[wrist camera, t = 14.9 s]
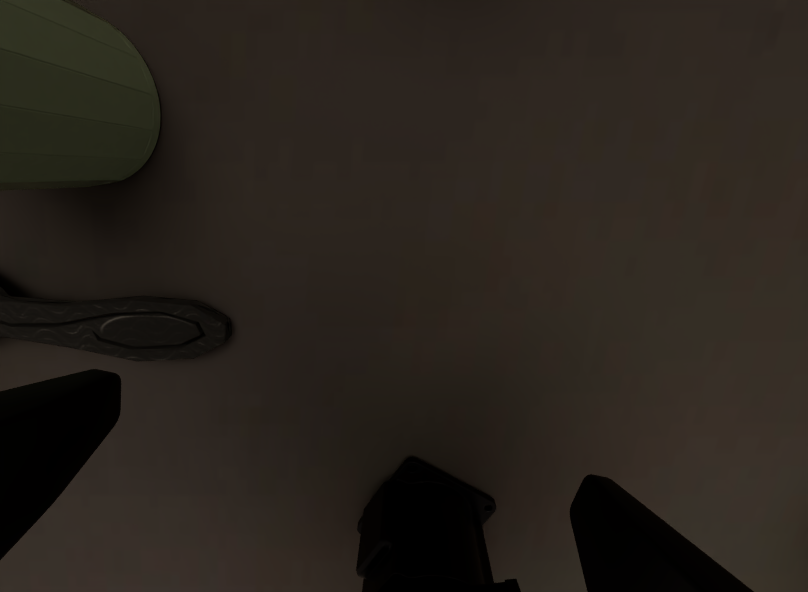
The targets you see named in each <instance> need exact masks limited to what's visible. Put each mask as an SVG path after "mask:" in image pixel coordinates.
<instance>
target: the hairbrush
mask: <svg viewBox="0 0 808 592" xmlns="http://www.w3.org/2000/svg"><path fill="white" fill-rule="evenodd" d="M110 313H117V314H111V315H105V316H100V317H94V316H99V315H104V314H110ZM88 317H94V318H88ZM83 318H88V319H83ZM78 319H83V320H78ZM72 320H77V321H72ZM67 321H71V322H67ZM202 332H204V333H205V334H203V335H201V333H202ZM199 335H201V336H199ZM0 336H3V337H9V338H15V339H21V340H27V341H33V342H39V343H45V344H52V345H58V346H64V347H70V348H75V349H80V350H85V351H90V352H95V353H100V354H104V355H109V356H114V357H119V358H124V359H129V360H134V361H154V360H175V359H194V358H196V357H198V356H200V355H201V354H203V353H205V352H207V351H209V350H211V349H213V348H215V347H217V346H219V345H221V344H223V343H225V341H226V340H228V338H229V337H230V336H231V327H230V318H228V317H226V316H224V315H223V314H221V313H219V312H217V311H216V310H214V309H212V308H210V307H208V306H206V305H204V304H203V303H201V302H199V301H195V300H184V299H173V298H162V297H151V296H136V297H125V298H114V299H104V300H93V301H82V302H76V301H63V300H51V299H38V298H26V297H13V296H9V295H8V294H7V293H6V292H5V291H4V290H3V289H2V288H1V287H0ZM197 336H199V337H197ZM195 337H197V338H195ZM193 338H195V339H193ZM190 339H193V340H191V341H189V342H186V341H188V340H190Z"/></svg>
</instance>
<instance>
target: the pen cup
mask: <svg viewBox="0 0 808 592" xmlns="http://www.w3.org/2000/svg"><path fill="white" fill-rule="evenodd" d="M160 118H161V113H160V103H159V98H158V93H157V89H156V86H155V83H154V80H153V78H152V75H151V73H150V71H149V69H148V67H147V65H146V63H145V62H144V60H143V58H142V57H141V55H140V54H139V52H138V51H137V50H136V48H135V47H134V45H133V44H132V43H131V42H130V41H129V40H128V39H127V38H126V37H125V35H123V34H122V33H121V32H120V31H119V30H118V29H117V28H116V27H114V26H113V25H112V24H110V23H109V22H107V21H106V20H105V19H103V18H101V17H99V16H98V15H96V14H94V13H92V12H90V11H88V10H87V9H85V8H84V7H82V6H81V5H79V4H77V3H75V2H73V1H72V0H0V191H4V190H26V189H49V188H71V187H92V186H96V185H105V184H111V183H115V182H118V181H121V180H124V179H126V178H128V177H130V176H131V175H133V174H134V173H135V172H137V171H138V170H139V169H140V168H141V167H142V166H143V165H144V164H145V163H146V162H147V160H148V159H149V157H150V156H151V154H152V152H153V150H154V148H155V146H156V143H157V139H158V136H159V130H160Z"/></svg>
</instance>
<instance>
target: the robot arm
mask: <svg viewBox="0 0 808 592" xmlns="http://www.w3.org/2000/svg"><path fill="white" fill-rule="evenodd" d="M120 410H121V379H120V376H119V375H118V374H116V373H112V372H108V371H103V370H98V369H91V370H87V371H83V372H79V373H75V374H70V375H66V376H62V377H58V378H54V379H50V380H46V381H42V382H37V383H33V384H29V385H25V386H21V387H17V388H13V389H8V390H4V391H0V560H1V559H2V558H3V557H4V556H5V555H6V553H7V552H8V551H9V550H10V549H11V548H12V547H13V546H14V545H15V544H16V543H17V542H18V541H19V540H20V539H21V537H22V536H23V535H24V534H25V533H26V532H27V531H28V530H29V529H30V528H31V527H32V526H33V525H34V524H35V523H36V522H37V520H38V519H39V518H40V517H41V516H42V515H43V514H44V513H45V512H46V511H47V509H48V508H49V507H50V506H51V505H52V504H53V503H54V502H55V500H56V499H57V498H58V497H59V496H60V494H61V493H62V492H63V491H64V489H65V488H66V487H67V486H68V484H69V483H70V482H71V481H72V479H73V478H74V477H75V476H76V474H77V473H78V472H79V470H80V469H81V468H82V467H83V465H84V464H85V463H86V462H87V460H88V459H89V458H90V456H91V455H92V454H93V453H94V451H95V450H96V449H97V448H98V446H99V445H100V444H101V442H102V441H103V440H104V439H105V437H106V436H107V435H108V434H109V432H110V431H111V430H112V428H113V427H114V426H115V424H116V423H117V421H118V418H119V416H120ZM411 465H413V466H415V467H409V466H411ZM486 505H489V506H486ZM495 510H496V503H495V500H494V499H493V498H492V497H490V496H488V495H486V494H484V493H483V492H481V491H479V490H477V489H475V488H473V487H471V486H469V485H467V484H465V483H463V482H461V481H459V480H458V479H456V478H454V477H452V476H450V475H448V474H446V473H444V472H442V471H440V470H438V469H436V468H435V467H433V466H431V465H429V464H427V463H425V462H423V461H421V460H419V459H417V458H415V457H410V458H407V459H406V460H405V461H404V462H403V464H402V465H401V466H400V468H399V469H398V470H397V471H396V473H395V474H394V475H393V477H392V478H391V479H390V481H387V482H385V483H383V485H382V486H381V487H380V489H379V490H378V491H377V493H376V494H375V495H374V496H373V498H372V499H371V500H370V502H369V503H368V504H367V506H366V507H365V508H364V513H363V516H362V517H361V519H360V520H359V522H358V527H357V530H358V532H359V533H360V534H361V536H360V544H359V552H358V560H357V567H356V571H357V574H358V576H359V577H361V578H364V579H363V589H362V592H521V591H520V588H519V585H518V582H517V580H516V579H507V580H505V582H500V583H494V581H493V576H492V571H491V567H490V562H489V557H488V553H487V548H486V543H485V538H484V534H483V529H482V525H483V524H484V523H485V522H486V521H487V520H488V519H489V517H490V516H491V515H492V514H493V513H494V512H495ZM570 519H571V524H572V528H573V532H574V536H575V541H576V545H577V549H578V553H579V557H580V562H581V566H582V570H583V574H584V578H585V583H586V587H587V591H588V592H753V591H752V590H751V589H750V588H748V587H747V586H746V585H745V584H743V583H742V582H741V581H740V580H738V579H737V578H736V577H734V576H733V575H732V574H731V573H729V572H728V571H727V570H726V569H724V568H723V567H722V566H720V565H719V564H718V563H717V562H715V561H714V560H713V559H712V558H710V557H709V556H708V555H707V554H705V553H704V552H703V551H701V550H700V549H699V548H698V547H696V546H695V545H694V544H693V543H691V542H690V541H689V540H687V539H686V538H685V537H684V536H682V535H681V534H680V533H679V532H677V531H676V530H675V529H674V528H672V527H671V526H670V525H668V524H667V523H666V522H665V521H663V520H662V519H661V518H660V517H658V516H657V515H656V514H654V513H653V512H652V511H651V510H649V509H648V508H647V507H646V506H644V505H643V504H642V503H641V502H639V501H638V500H637V499H635V498H634V497H633V496H632V495H630V494H629V493H628V492H627V491H625V490H624V489H623V488H621V487H620V486H619V485H618V484H616V483H615V482H614V481H613V480H611V479H609V478H607V477H602V476H597V475H592V474H590V475H587V476H586V477H585V478H584V479H583V481H582V483H581V485H580V487H579V489H578V491H577V493H576V496H575V498H574V500H573V502H572V504H571V507H570Z"/></svg>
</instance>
